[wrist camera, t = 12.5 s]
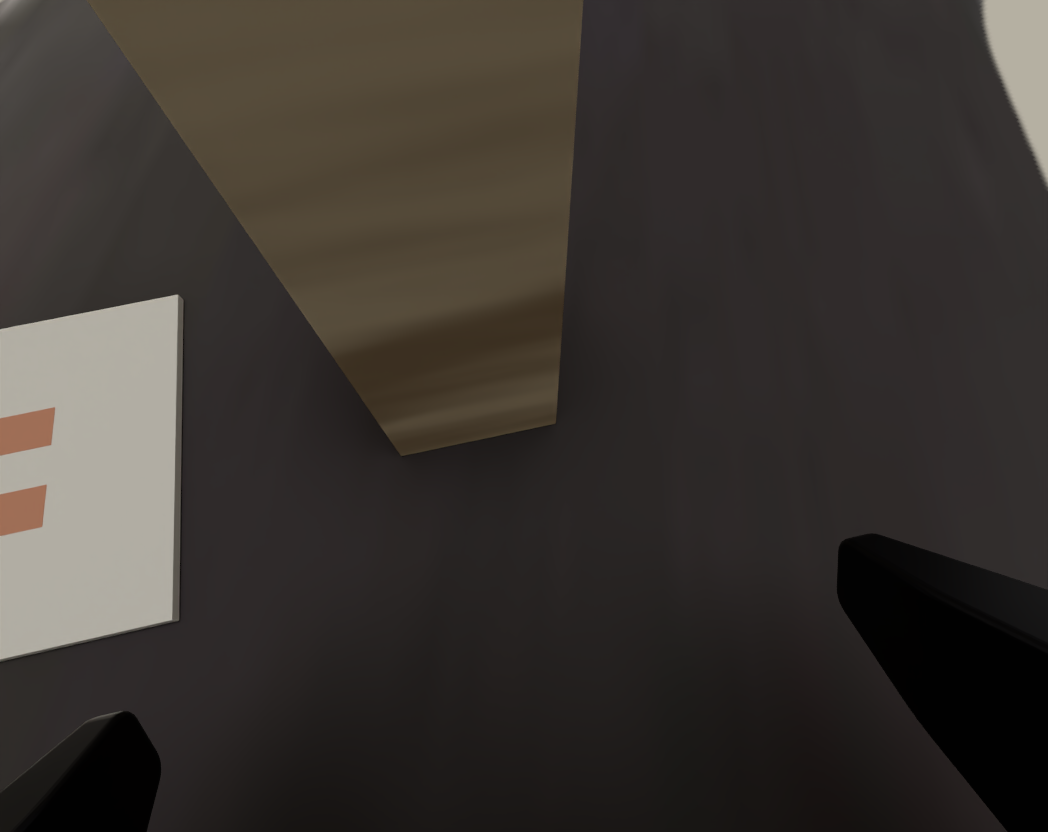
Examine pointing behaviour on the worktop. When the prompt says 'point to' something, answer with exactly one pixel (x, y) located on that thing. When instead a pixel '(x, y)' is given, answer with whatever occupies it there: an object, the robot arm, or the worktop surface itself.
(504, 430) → the oak block
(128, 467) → the card
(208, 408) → the worktop surface
